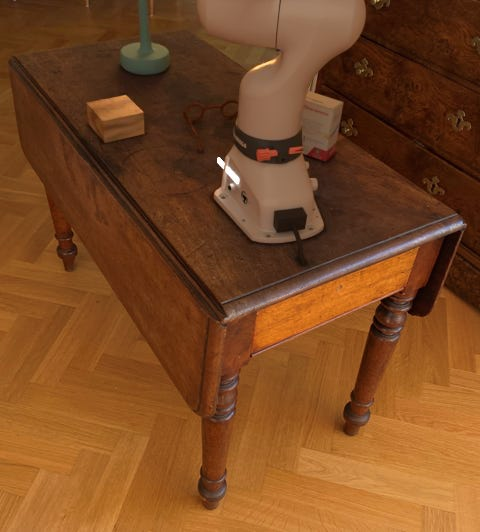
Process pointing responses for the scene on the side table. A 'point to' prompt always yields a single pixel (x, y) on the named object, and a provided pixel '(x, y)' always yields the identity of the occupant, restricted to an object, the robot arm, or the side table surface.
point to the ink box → (320, 125)
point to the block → (115, 118)
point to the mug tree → (144, 49)
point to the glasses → (203, 114)
